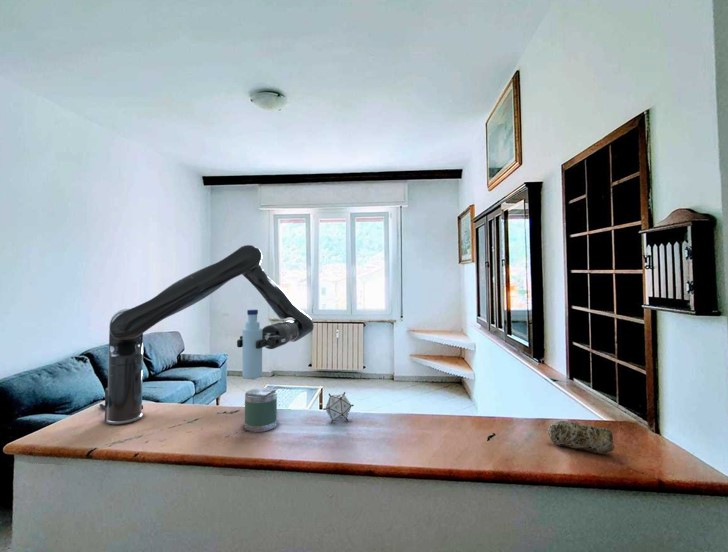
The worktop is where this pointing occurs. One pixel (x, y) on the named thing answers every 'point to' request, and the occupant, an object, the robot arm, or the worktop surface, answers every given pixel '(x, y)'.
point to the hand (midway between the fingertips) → (247, 344)
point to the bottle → (252, 347)
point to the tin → (260, 409)
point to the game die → (338, 407)
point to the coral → (581, 437)
